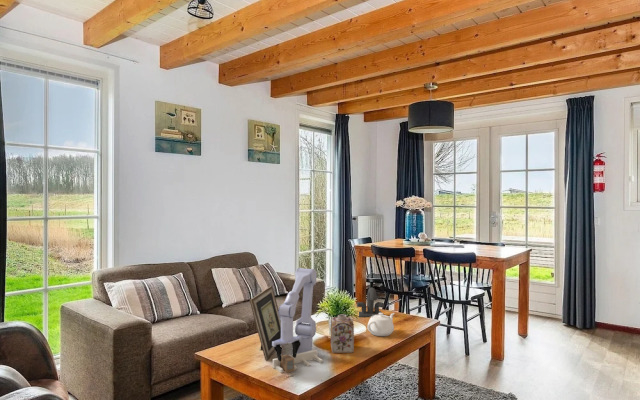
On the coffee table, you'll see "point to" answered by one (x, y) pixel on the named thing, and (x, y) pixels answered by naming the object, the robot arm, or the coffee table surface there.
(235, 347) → the coffee table surface
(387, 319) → the teapot
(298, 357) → the cream pronged rack
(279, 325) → the picture frame
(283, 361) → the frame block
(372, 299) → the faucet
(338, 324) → the decorative jar
